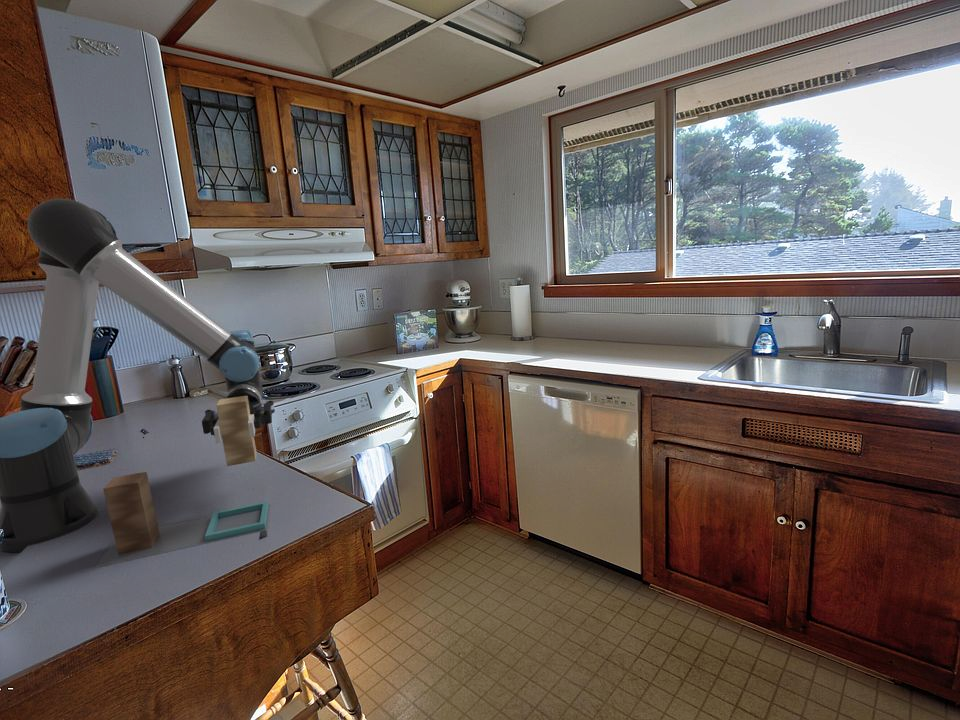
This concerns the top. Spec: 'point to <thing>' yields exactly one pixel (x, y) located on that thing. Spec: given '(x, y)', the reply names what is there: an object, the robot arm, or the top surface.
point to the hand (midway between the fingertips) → (234, 432)
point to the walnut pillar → (131, 512)
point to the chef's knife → (145, 431)
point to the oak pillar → (236, 430)
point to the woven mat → (94, 459)
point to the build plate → (199, 532)
